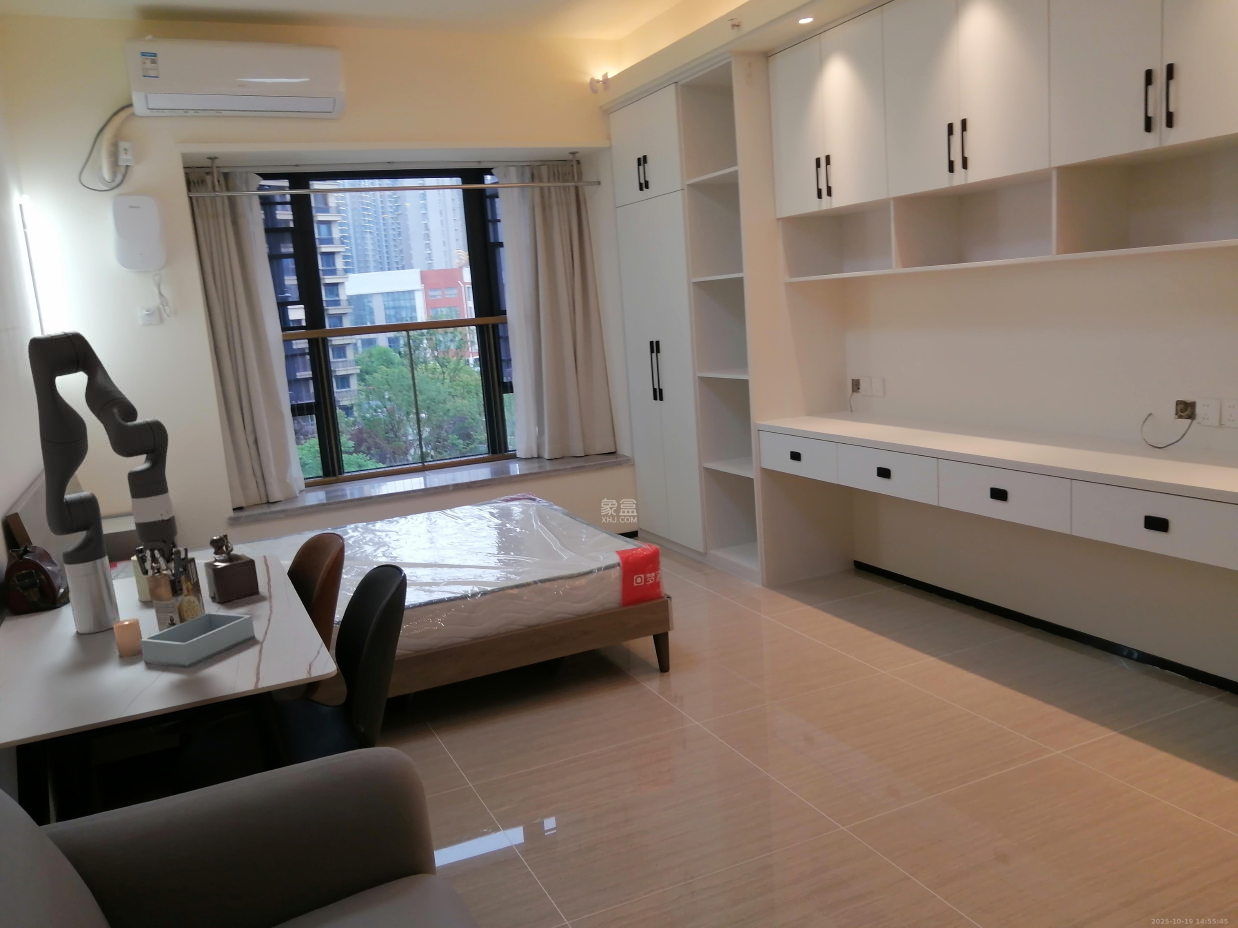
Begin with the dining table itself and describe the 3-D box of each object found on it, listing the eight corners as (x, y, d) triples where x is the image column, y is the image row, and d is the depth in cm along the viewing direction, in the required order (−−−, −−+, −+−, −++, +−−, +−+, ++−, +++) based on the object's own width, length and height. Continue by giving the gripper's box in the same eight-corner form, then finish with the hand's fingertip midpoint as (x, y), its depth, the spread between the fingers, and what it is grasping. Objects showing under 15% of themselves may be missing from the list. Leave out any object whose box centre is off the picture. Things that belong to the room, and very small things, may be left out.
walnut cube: (150, 600, 194) (146, 577, 193) (171, 592, 198) (167, 570, 197) (166, 601, 192) (162, 578, 191) (187, 593, 196) (183, 571, 195)
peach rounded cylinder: (114, 656, 203) (108, 625, 202) (134, 647, 208) (128, 617, 207) (129, 657, 201) (123, 627, 200) (149, 649, 206) (143, 619, 204)
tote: (144, 662, 197) (139, 639, 196) (212, 633, 212) (208, 612, 212) (188, 667, 191) (183, 644, 190) (255, 637, 206) (251, 615, 206)
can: (165, 599, 246) (157, 555, 244) (131, 602, 246) (123, 559, 244) (182, 589, 255) (174, 546, 253) (149, 592, 255) (141, 550, 253)
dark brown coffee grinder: (206, 597, 244) (193, 531, 241) (249, 586, 250) (237, 521, 247) (222, 608, 231) (210, 539, 228) (267, 597, 238) (255, 529, 235)
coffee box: (184, 621, 224) (172, 557, 221) (207, 621, 222) (195, 556, 220) (158, 635, 215) (145, 568, 212) (182, 634, 213) (170, 567, 211)
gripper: (115, 520, 192) (130, 599, 195) (161, 521, 186) (177, 602, 188) (147, 511, 199) (161, 588, 201) (193, 512, 192) (207, 591, 195)
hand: (169, 594), depth 195 cm, fingers closed on walnut cube, 5 cm apart
